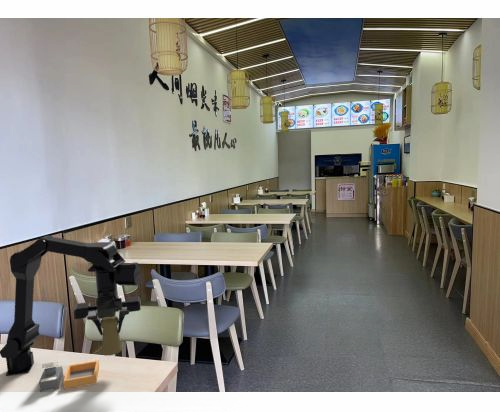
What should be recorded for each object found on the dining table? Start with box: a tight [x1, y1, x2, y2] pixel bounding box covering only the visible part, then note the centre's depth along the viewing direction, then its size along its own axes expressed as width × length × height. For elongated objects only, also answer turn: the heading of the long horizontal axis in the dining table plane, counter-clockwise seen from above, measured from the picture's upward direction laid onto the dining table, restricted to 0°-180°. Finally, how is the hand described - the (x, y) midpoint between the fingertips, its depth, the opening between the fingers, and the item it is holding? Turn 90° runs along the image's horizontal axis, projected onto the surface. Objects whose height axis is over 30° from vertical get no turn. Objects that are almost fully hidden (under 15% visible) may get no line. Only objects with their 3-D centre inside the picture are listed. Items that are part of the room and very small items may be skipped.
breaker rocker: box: [41, 361, 59, 369], centre depth 114 cm, size 3×6×1 cm, turn 16°
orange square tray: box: [63, 360, 100, 390], centre depth 117 cm, size 9×9×2 cm
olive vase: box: [101, 315, 123, 356], centre depth 118 cm, size 6×6×11 cm
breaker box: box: [38, 366, 64, 393], centre depth 114 cm, size 5×7×5 cm
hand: (110, 333), depth 118 cm, fingers closed on olive vase, 5 cm apart
